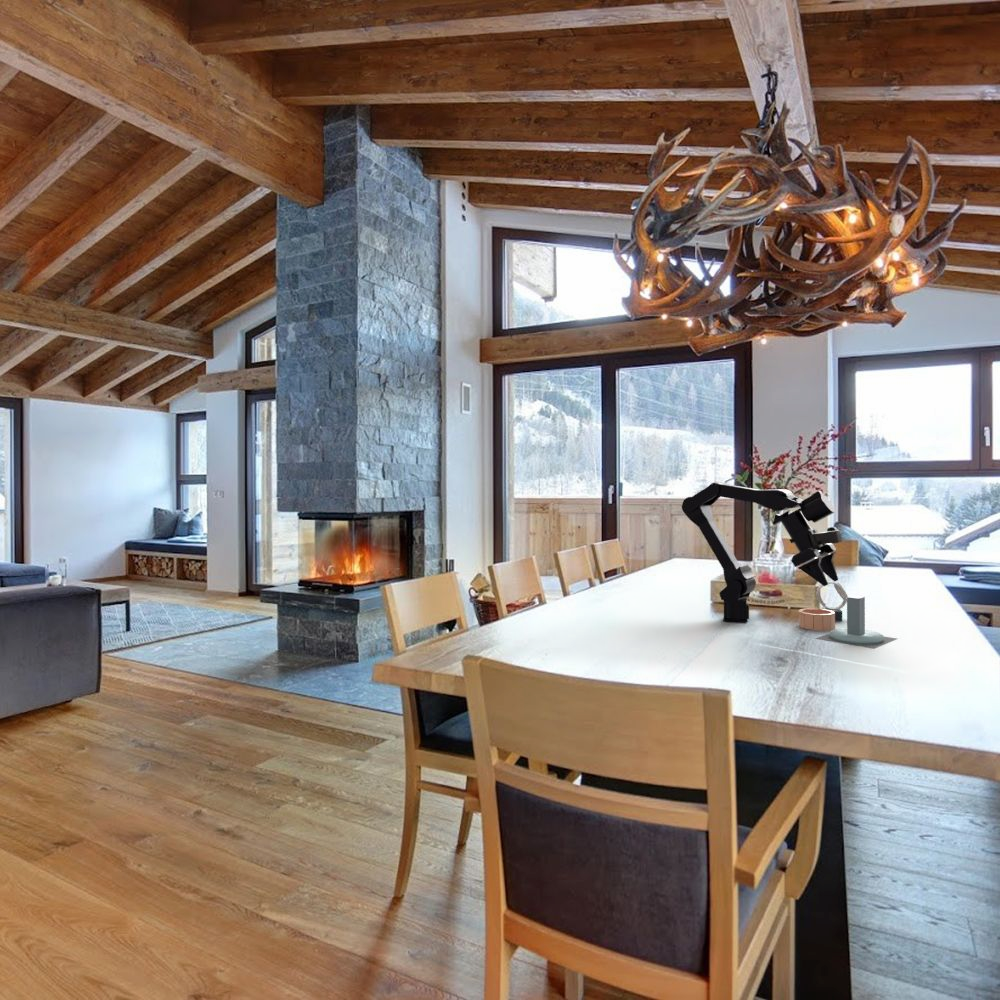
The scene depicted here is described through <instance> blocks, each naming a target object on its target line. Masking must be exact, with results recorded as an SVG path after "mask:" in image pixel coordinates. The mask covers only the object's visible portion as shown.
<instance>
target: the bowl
mask: <svg viewBox="0 0 1000 1000" xmlns="http://www.w3.org/2000/svg"><path fill="white" fill-rule="evenodd" d="M798 627H799V628H802V629H806V630H812V631H821V632H822V631H824V632H825V631H831V630H833V629H836V621H835V612H834V611H831V610H826V609H822V608H816V607H815V608H813V607H811V608H809V607H808V608H807V607H806V608H801V609H798Z"/></svg>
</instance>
